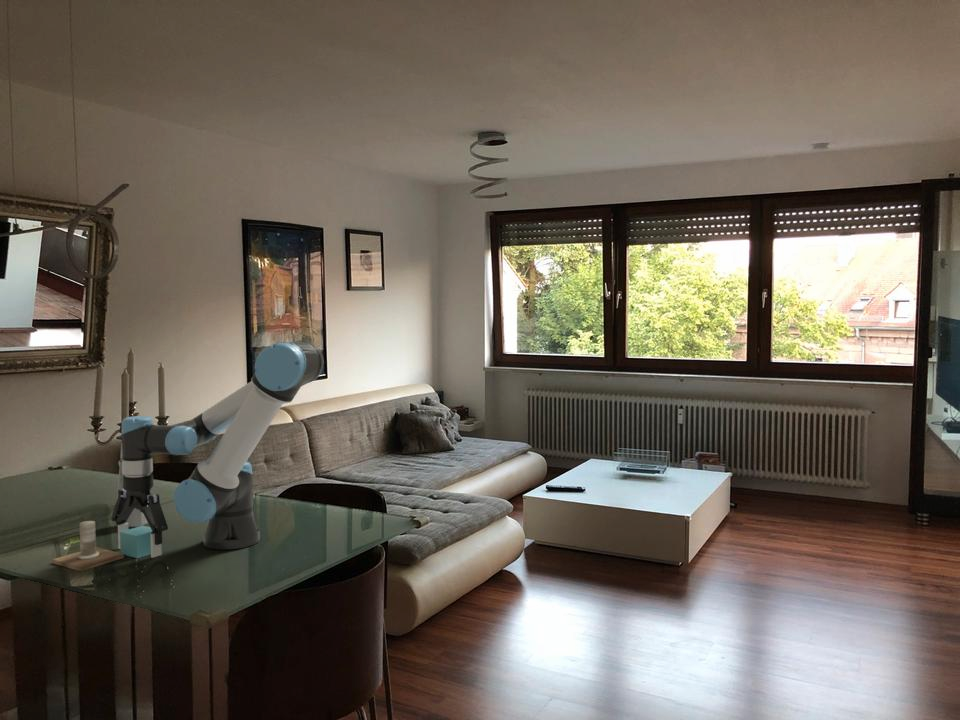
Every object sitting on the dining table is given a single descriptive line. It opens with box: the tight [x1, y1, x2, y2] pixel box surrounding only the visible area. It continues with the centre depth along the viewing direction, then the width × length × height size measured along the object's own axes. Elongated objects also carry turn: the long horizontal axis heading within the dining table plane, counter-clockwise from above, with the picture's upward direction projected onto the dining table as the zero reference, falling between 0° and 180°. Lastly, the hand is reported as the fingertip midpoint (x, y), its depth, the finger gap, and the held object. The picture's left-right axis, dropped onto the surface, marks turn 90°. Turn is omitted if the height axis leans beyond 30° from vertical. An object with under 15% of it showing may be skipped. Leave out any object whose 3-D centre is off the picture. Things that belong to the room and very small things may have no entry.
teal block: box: [119, 525, 152, 559], centre depth 205 cm, size 7×7×6 cm
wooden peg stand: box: [51, 520, 125, 572], centre depth 199 cm, size 12×12×10 cm
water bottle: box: [116, 443, 148, 528], centre depth 230 cm, size 9×8×25 cm
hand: (139, 551), depth 206 cm, fingers open, 13 cm apart
